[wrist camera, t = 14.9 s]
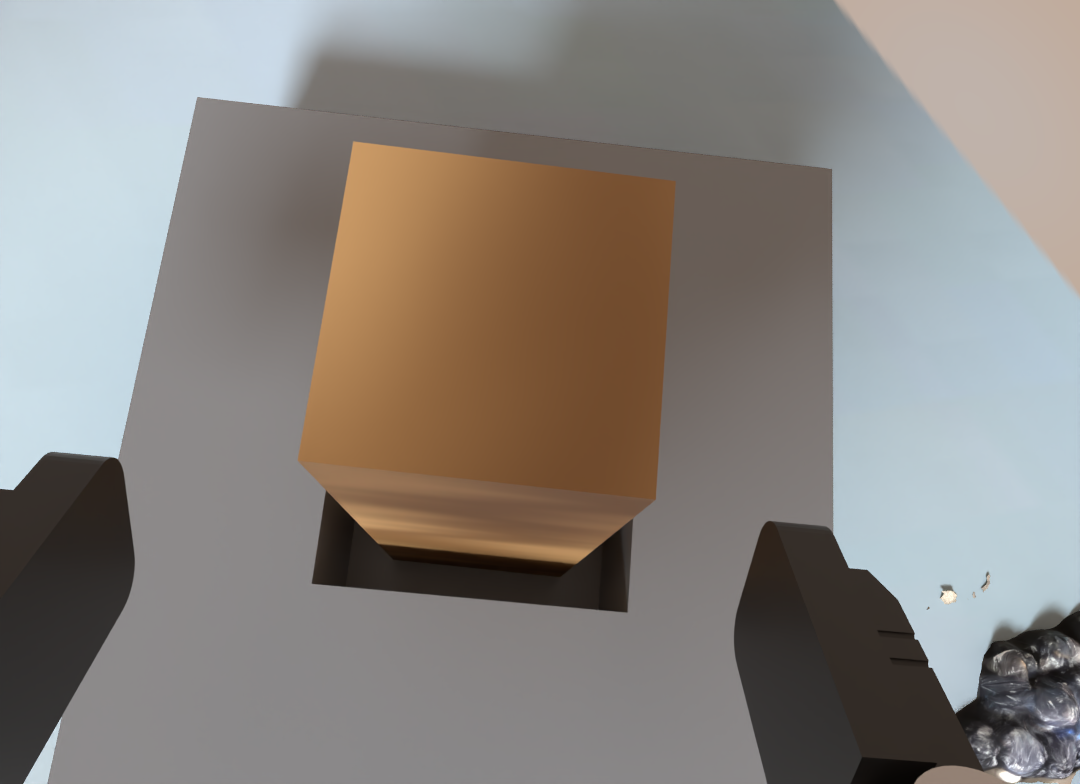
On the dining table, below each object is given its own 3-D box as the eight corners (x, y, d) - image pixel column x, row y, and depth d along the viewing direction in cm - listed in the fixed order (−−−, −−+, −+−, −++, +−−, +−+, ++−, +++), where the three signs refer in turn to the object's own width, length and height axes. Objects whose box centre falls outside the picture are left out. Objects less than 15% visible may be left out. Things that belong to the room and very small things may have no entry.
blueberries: (811, 690, 23) (835, 699, 21) (1013, 471, 24) (1054, 462, 22) (1016, 899, 22) (1061, 928, 20) (1217, 660, 23) (1277, 667, 21)
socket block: (145, 761, 20) (44, 796, 16) (252, 205, 24) (197, 97, 20) (752, 811, 21) (834, 860, 16) (763, 260, 25) (832, 168, 20)
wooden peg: (393, 559, 21) (297, 460, 10) (416, 398, 23) (353, 141, 11) (560, 577, 22) (655, 500, 10) (574, 416, 23) (675, 181, 11)
